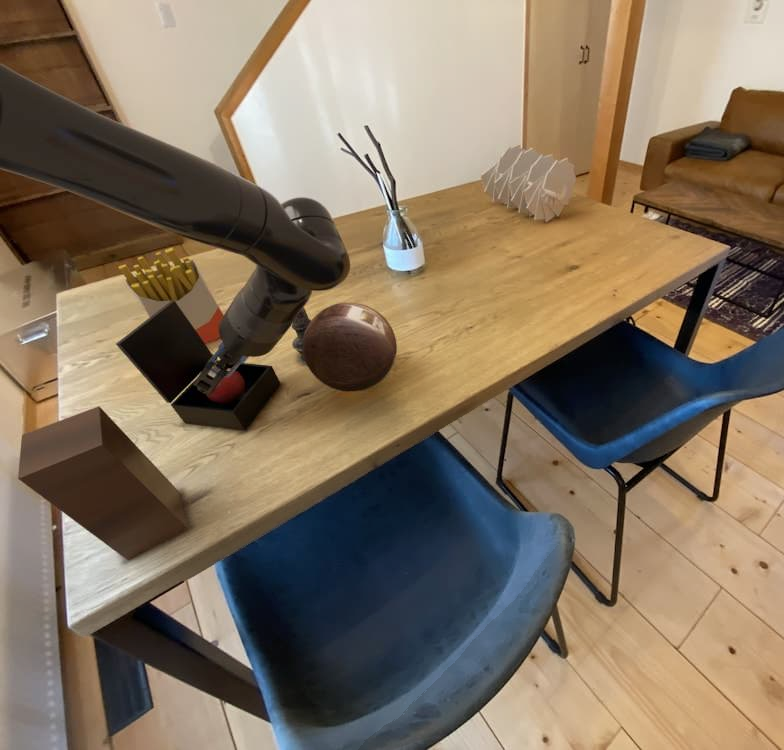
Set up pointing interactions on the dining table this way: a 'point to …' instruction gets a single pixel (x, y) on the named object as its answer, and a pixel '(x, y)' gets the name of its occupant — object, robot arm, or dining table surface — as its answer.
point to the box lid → (167, 351)
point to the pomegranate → (228, 389)
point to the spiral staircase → (530, 182)
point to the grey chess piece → (300, 331)
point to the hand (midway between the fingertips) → (221, 371)
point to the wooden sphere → (349, 347)
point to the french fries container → (176, 292)
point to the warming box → (232, 415)
